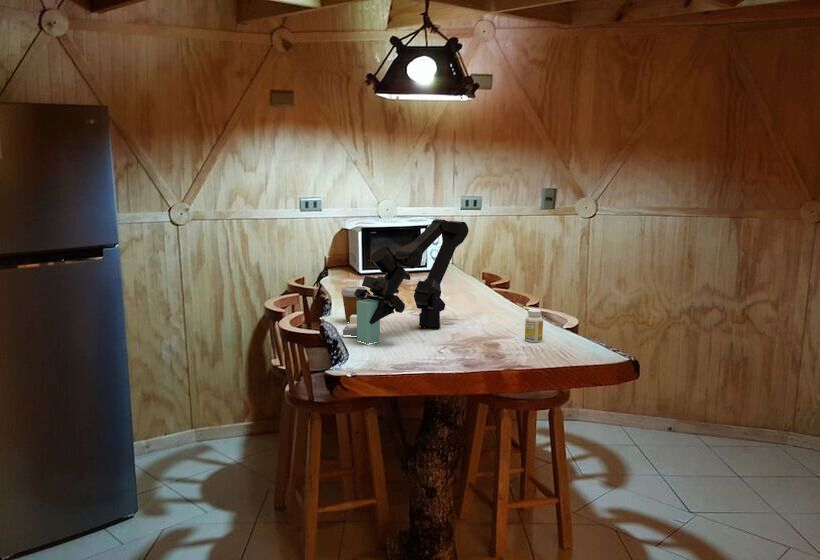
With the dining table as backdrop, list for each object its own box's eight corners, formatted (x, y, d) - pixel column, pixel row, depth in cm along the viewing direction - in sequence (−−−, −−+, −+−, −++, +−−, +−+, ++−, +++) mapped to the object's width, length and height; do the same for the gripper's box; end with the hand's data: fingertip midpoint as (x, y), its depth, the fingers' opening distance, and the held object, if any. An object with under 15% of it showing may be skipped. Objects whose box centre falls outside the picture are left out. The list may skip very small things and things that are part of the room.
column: (369, 339, 196) (369, 298, 194) (379, 342, 193) (379, 301, 190) (357, 342, 193) (356, 300, 191) (367, 345, 189) (367, 303, 187)
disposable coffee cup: (344, 325, 214) (343, 291, 212) (339, 319, 223) (338, 286, 221) (371, 324, 217) (370, 290, 215) (365, 318, 226) (365, 285, 224)
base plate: (372, 327, 211) (372, 314, 211) (365, 338, 198) (365, 324, 197) (350, 327, 212) (349, 314, 211) (342, 337, 198) (341, 323, 198)
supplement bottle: (527, 343, 191) (528, 312, 190) (522, 338, 196) (523, 308, 195) (544, 342, 192) (545, 311, 190) (539, 338, 197) (540, 308, 195)
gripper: (358, 263, 198) (330, 302, 192) (397, 269, 185) (369, 311, 179) (377, 284, 205) (351, 322, 199) (416, 292, 192) (390, 333, 186)
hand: (364, 322), depth 191 cm, fingers closed on column, 5 cm apart
